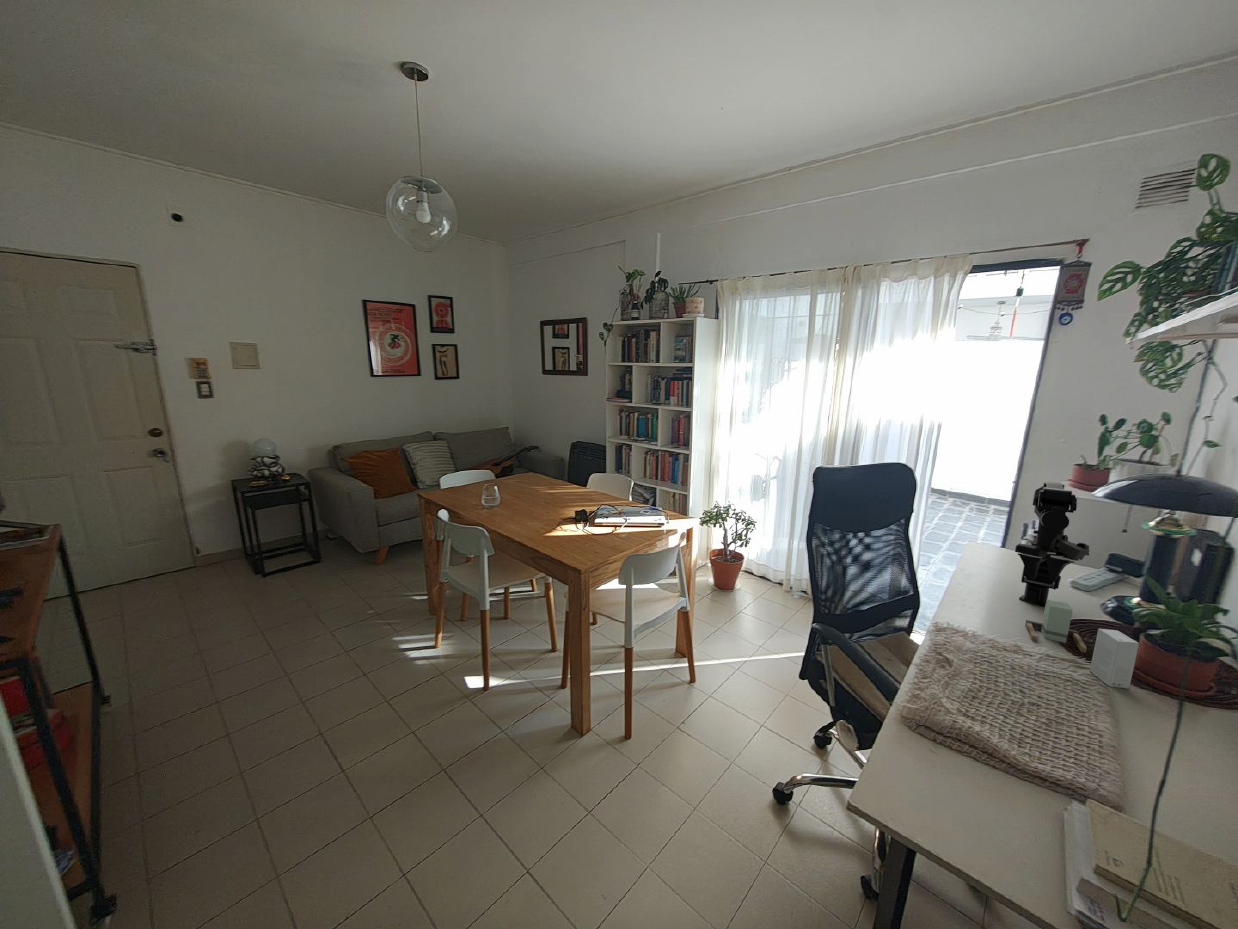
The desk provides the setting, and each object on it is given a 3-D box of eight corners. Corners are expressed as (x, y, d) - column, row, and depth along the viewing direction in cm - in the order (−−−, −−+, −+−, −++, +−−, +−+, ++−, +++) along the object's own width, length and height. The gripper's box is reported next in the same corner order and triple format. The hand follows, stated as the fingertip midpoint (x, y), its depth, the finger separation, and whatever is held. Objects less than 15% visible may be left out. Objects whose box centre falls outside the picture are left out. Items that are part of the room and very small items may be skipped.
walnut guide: (1025, 625, 134) (1026, 619, 134) (1076, 636, 128) (1077, 631, 128) (1031, 640, 126) (1032, 634, 126) (1085, 653, 120) (1087, 647, 120)
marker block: (1040, 630, 131) (1046, 599, 130) (1062, 635, 129) (1068, 603, 127) (1044, 638, 128) (1050, 605, 126) (1066, 643, 125) (1072, 610, 123)
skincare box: (1130, 689, 106) (1140, 643, 104) (1108, 687, 107) (1118, 641, 105) (1108, 673, 112) (1117, 629, 110) (1088, 671, 113) (1097, 628, 111)
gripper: (1063, 532, 125) (1054, 587, 125) (1105, 537, 130) (1097, 590, 131) (1017, 524, 136) (1009, 575, 136) (1059, 530, 141) (1051, 578, 141)
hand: (1042, 580), depth 136 cm, fingers open, 9 cm apart
